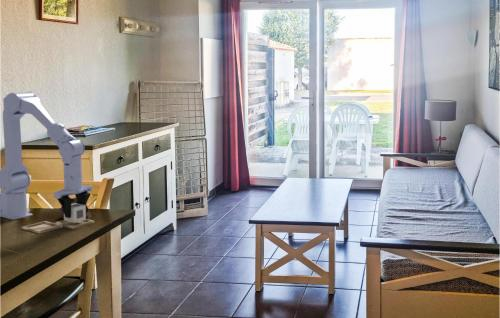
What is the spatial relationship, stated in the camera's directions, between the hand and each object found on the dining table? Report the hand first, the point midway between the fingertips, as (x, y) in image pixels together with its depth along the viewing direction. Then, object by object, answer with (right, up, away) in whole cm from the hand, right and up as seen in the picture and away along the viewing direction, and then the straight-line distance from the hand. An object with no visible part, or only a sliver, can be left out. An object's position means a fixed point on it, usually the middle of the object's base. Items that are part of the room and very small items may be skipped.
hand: (74, 215), depth 210 cm
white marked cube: (0, -2, 0) cm, 2 cm away
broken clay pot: (-2, -2, +10) cm, 10 cm away
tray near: (-9, -4, -5) cm, 11 cm away
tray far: (0, -3, 0) cm, 3 cm away
